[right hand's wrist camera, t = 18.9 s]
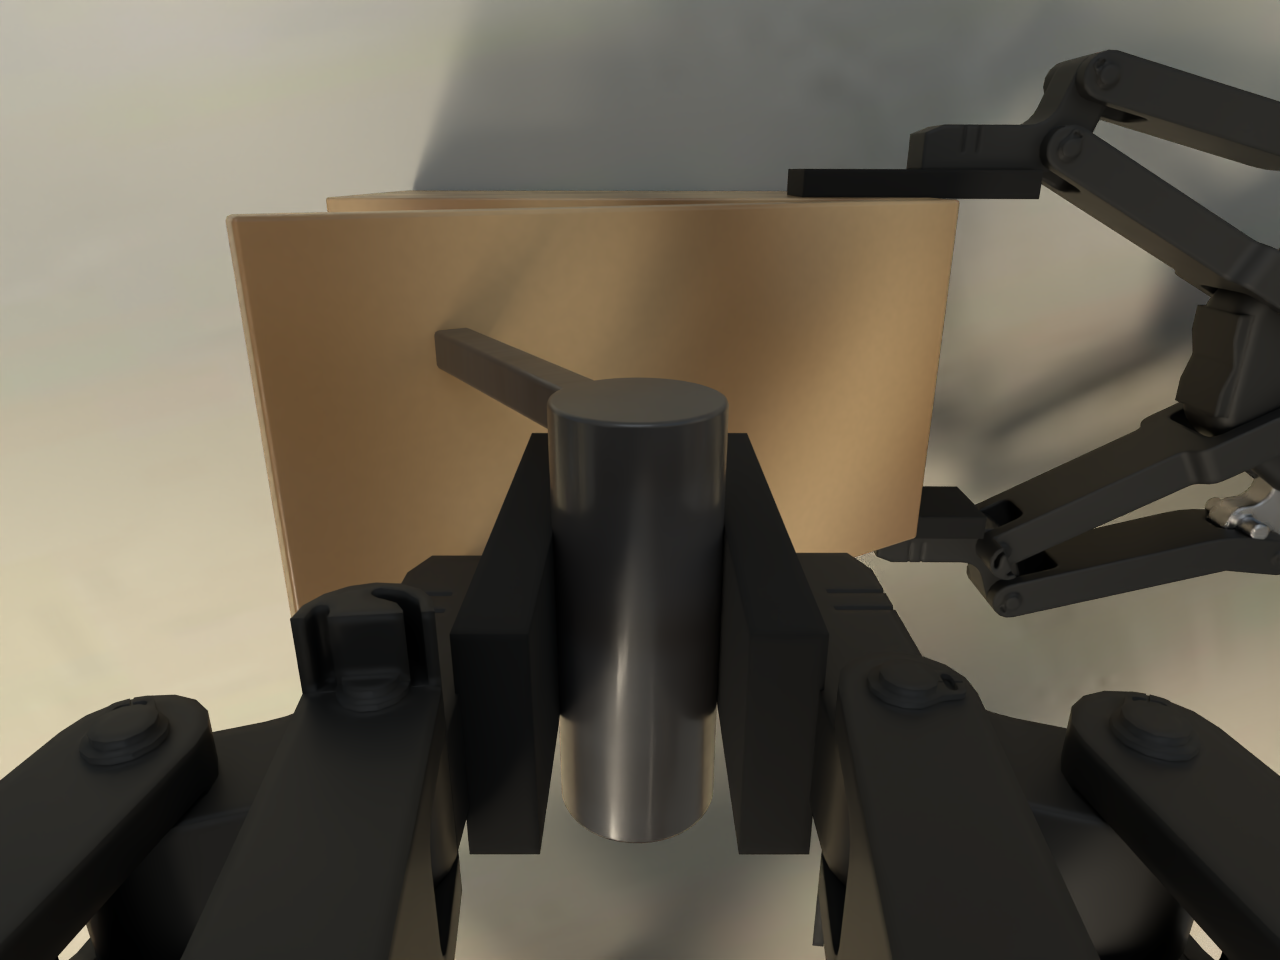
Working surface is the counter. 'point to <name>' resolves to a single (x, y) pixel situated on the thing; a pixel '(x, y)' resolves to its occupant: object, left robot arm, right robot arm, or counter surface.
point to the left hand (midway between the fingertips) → (783, 358)
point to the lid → (596, 424)
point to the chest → (557, 199)
